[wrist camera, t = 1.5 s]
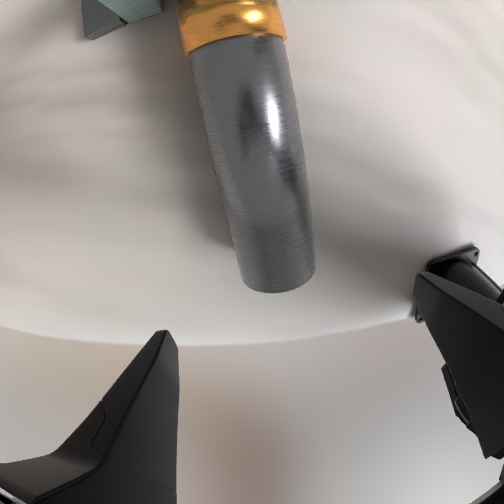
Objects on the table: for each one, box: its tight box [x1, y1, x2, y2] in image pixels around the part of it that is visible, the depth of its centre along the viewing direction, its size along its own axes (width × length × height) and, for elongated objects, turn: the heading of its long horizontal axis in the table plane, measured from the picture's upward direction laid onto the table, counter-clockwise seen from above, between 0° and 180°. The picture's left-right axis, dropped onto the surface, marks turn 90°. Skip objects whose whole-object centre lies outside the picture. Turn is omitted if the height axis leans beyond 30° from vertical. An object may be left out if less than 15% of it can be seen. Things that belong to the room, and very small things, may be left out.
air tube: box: [176, 0, 315, 293], centre depth 10 cm, size 18×4×4 cm, turn 10°
